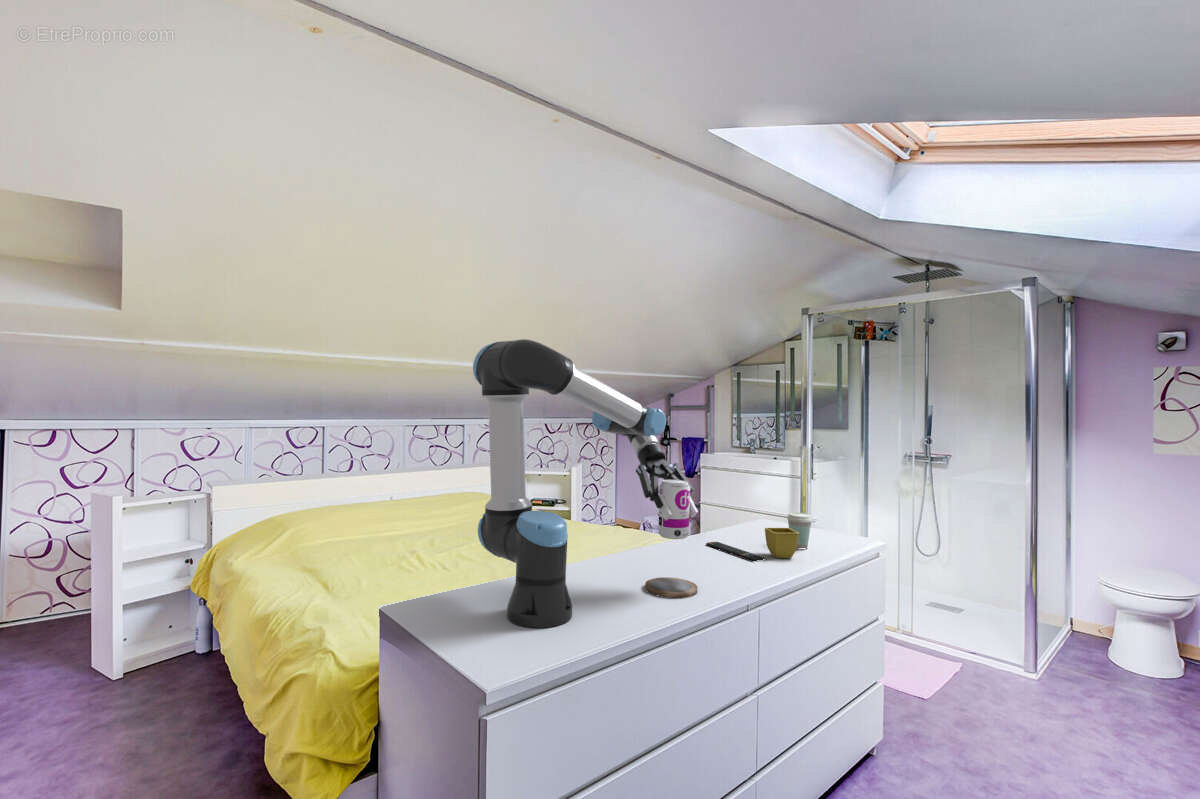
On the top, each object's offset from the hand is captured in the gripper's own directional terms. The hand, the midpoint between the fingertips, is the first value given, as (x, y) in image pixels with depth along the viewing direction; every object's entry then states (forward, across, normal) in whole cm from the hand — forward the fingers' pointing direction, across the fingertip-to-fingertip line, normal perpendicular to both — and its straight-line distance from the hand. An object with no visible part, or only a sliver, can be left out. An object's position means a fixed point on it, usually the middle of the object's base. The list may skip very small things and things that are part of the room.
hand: (681, 515), depth 154 cm
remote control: (-3, -44, -34) cm, 56 cm away
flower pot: (+4, -56, -26) cm, 61 cm away
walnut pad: (+12, 0, -17) cm, 21 cm away
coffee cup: (0, -72, -30) cm, 78 cm away
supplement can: (+2, 0, -7) cm, 7 cm away
